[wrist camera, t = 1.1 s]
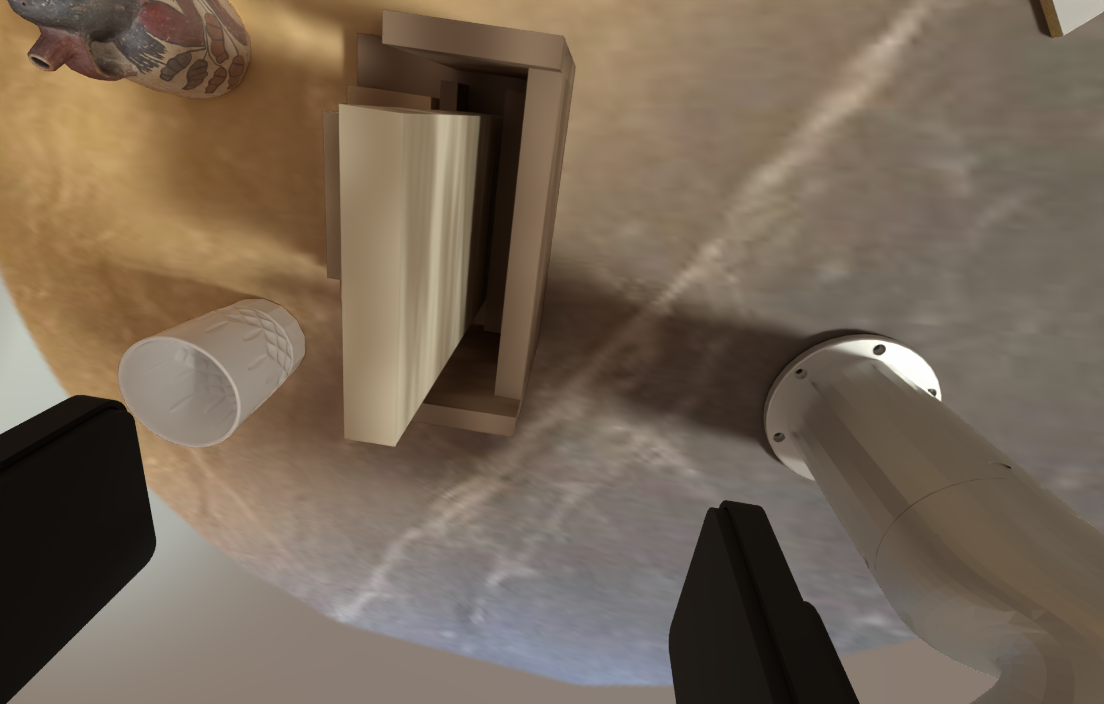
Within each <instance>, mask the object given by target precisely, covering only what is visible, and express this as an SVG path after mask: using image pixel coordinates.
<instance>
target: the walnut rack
mask: <svg viewBox="0 0 1104 704" xmlns="http://www.w3.org/2000/svg"><path fill="white" fill-rule="evenodd" d="M357 55H358V87H365V88H372V89H379V90H386V91H392V92H399V93H406V94H413V95H420V96H426V97H433V98H440V107H439V110H445V111H461V112H475V113H482V114H489V115H496V116H502V117H503V126H502V137H501V148H500V159H499V170H498V180H497V191H496V202H495V213H494V224H493V235H492V246H491V256H490V267H489V278H488V289H487V298H486V300H485V301H484V303H483V304H482V306H481V308H480V309H479V311H478V313H477V314H476V316H475V317H474V319H473V321H472V322H471V324H470V326H469V327H468V329H467V330H466V332H465V334H464V335H463V337H462V338H461V340H460V342H459V343H458V345H457V347H456V348H455V350H454V351H453V353H452V355H451V356H450V358H449V360H448V361H447V363H446V364H445V366H444V368H443V369H442V371H441V373H440V374H439V376H438V377H437V379H436V381H435V382H434V384H433V385H432V387H431V389H430V390H429V392H428V394H427V395H426V397H425V398H424V400H423V402H422V403H421V405H420V407H419V408H418V410H417V411H416V413H415V415H414V416H413V418H412V420H411V421H414V422H420V423H426V424H433V425H439V426H446V427H452V428H458V429H465V430H471V431H478V432H484V433H490V434H497V435H503V436H509V437H514V433H515V429H516V425H517V421H518V418H519V414H520V410H521V406H522V402H523V399H524V395H525V391H526V387H527V383H528V379H529V376H530V372H531V368H532V364H533V360H534V357H535V353H536V349H537V345H538V341H539V334H540V326H541V319H542V312H543V304H544V297H545V290H546V282H547V275H548V267H549V260H550V253H551V245H552V238H553V230H554V223H555V216H556V208H557V201H558V194H559V186H560V179H561V171H562V164H563V157H564V149H565V142H566V134H567V127H568V120H569V112H570V105H571V98H572V90H573V83H574V75H575V68H576V66H575V64H574V61H573V59H572V56H571V53H570V51H569V48H568V46H567V43H566V41H565V38H564V36H560V35H553V34H547V33H540V32H533V31H526V30H519V29H512V28H505V27H498V26H491V25H484V24H478V23H471V22H464V21H457V20H450V19H443V18H436V17H429V16H422V15H415V14H408V13H402V12H395V11H388V10H383V30H382V36H375V35H368V34H361V33H357Z"/></svg>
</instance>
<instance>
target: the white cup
mask: <svg viewBox="0 0 1104 704" xmlns="http://www.w3.org/2000/svg"><path fill="white" fill-rule="evenodd" d="M304 356H305V336H304V334H303V332H302V330H301V328H300V326H299V324H298V322H297V320H296V319H295V318H294V317H293V316H292V315H291V314H290V313H289V312H288V311H287V310H285V309H284V308H283V307H282V306H280V305H278V304H275V303H273V302H270V301H268V300H265V299H243V300H241V301H239V302H236V303H234V304H232V305H229V306H227V307H224V308H220V309H217V310H214V311H211V312H208V313H206V314H204V315H201V316H198V317H195V318H193V319H190V320H188V321H185V322H183V323H181V324H178V325H176V326H173V327H171V328H169V329H166V330H164V331H162V332H159V333H157V334H155V335H152V336H150V337H147V338H145V339H143V340H140V341H138V342H136V343H135V344H133V345H132V346H131V347H130V348H129V349H128V350H127V351H126V352H125V353H124V355H123V357H122V359H121V361H120V364H119V369H118V382H119V387H120V391H121V394H122V396H123V399H124V401H125V403H126V405H127V406H128V408H129V409H130V411H131V412H132V413H133V415H134V416H135V417H136V418H137V419H138V420H139V421H140V422H141V423H142V424H143V425H144V426H145V427H146V428H147V429H149V430H150V431H151V432H153V433H154V434H156V435H157V436H159V437H161V438H163V439H165V440H167V441H169V442H172V443H175V444H178V445H182V446H187V447H208V446H212V445H215V444H218V443H220V442H222V441H224V440H225V439H227V438H228V437H229V436H230V435H231V434H232V433H233V432H234V431H235V430H236V429H237V428H238V427H239V426H240V425H241V424H242V423H243V422H244V421H245V420H246V419H247V418H249V417H250V416H251V415H252V414H253V413H254V412H255V411H256V410H257V409H258V408H259V407H260V406H261V405H262V404H263V403H264V402H265V401H266V400H267V399H268V398H269V397H270V396H271V395H272V394H273V393H274V392H275V391H276V390H277V389H278V388H279V387H280V386H281V385H282V384H283V382H284V381H285V380H286V379H287V378H288V377H289V376H290V375H291V374H292V373H293V372H294V371H295V370H296V369H297V368H298V366H299V364H300V363H301V361H302V359H303V357H304Z"/></svg>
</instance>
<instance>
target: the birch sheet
mask: <svg viewBox="0 0 1104 704" xmlns="http://www.w3.org/2000/svg"><path fill="white" fill-rule="evenodd" d="M502 126H503V117H502V116H496V115H489V114H482V113H475V112H461V111H445V110H429V109H413V108H397V107H381V106H365V105H349V104H339V148H340V209H341V270H342V331H343V393H344V439H350V440H356V441H362V442H369V443H375V444H382V445H388V446H394V447H395V445H396V444H397V442H398V441H399V439H400V437H401V436H402V434H403V432H404V431H405V429H406V428H407V426H408V424H409V423H410V421H411V420H412V418H413V416H414V415H415V413H416V411H417V410H418V408H419V407H420V405H421V403H422V402H423V400H424V398H425V397H426V395H427V394H428V392H429V390H430V389H431V387H432V385H433V384H434V382H435V381H436V379H437V377H438V376H439V374H440V373H441V371H442V369H443V368H444V366H445V364H446V363H447V361H448V360H449V358H450V356H451V355H452V353H453V351H454V350H455V348H456V347H457V345H458V343H459V342H460V340H461V338H462V337H463V335H464V334H465V332H466V330H467V329H468V327H469V326H470V324H471V322H472V321H473V319H474V317H475V316H476V314H477V313H478V311H479V309H480V308H481V306H482V304H483V303H484V301H485V300H486V298H487V289H488V278H489V267H490V256H491V246H492V235H493V224H494V213H495V202H496V191H497V180H498V170H499V159H500V148H501V137H502Z"/></svg>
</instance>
